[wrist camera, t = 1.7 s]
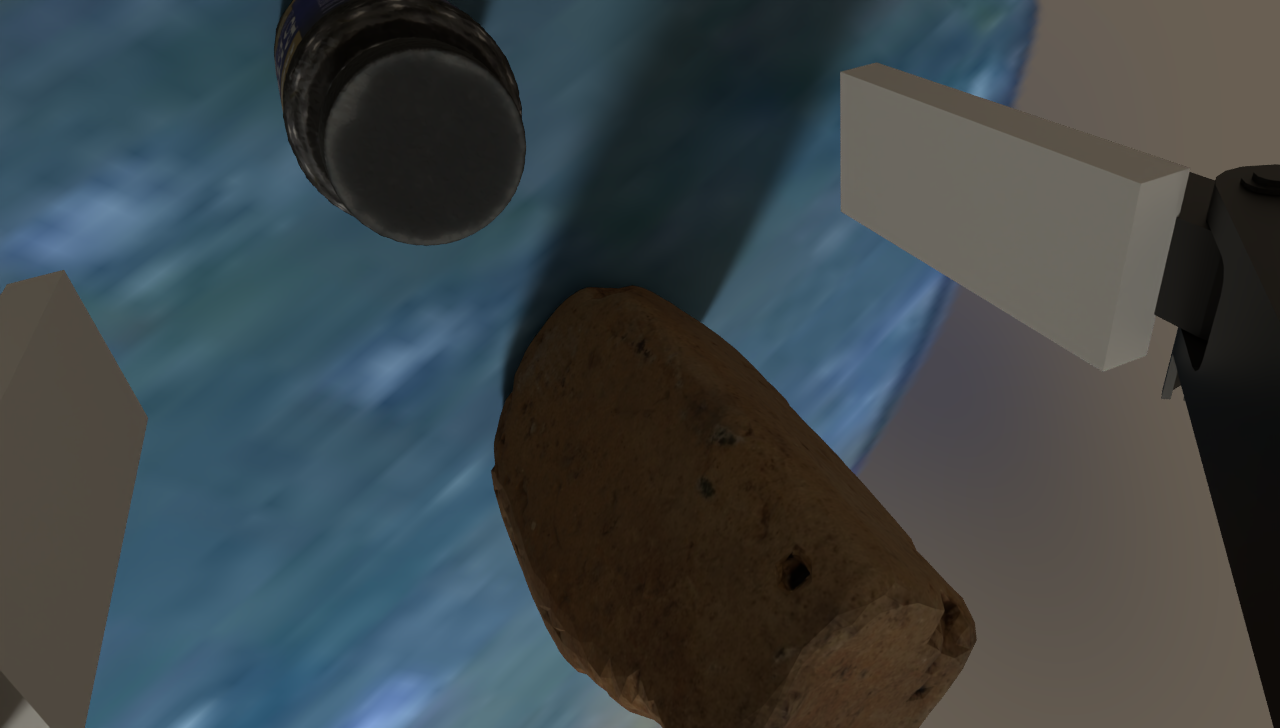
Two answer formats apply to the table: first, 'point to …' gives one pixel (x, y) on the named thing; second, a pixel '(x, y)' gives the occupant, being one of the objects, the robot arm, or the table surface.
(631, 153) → the table surface
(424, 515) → the table surface
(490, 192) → the pill bottle
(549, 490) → the block
